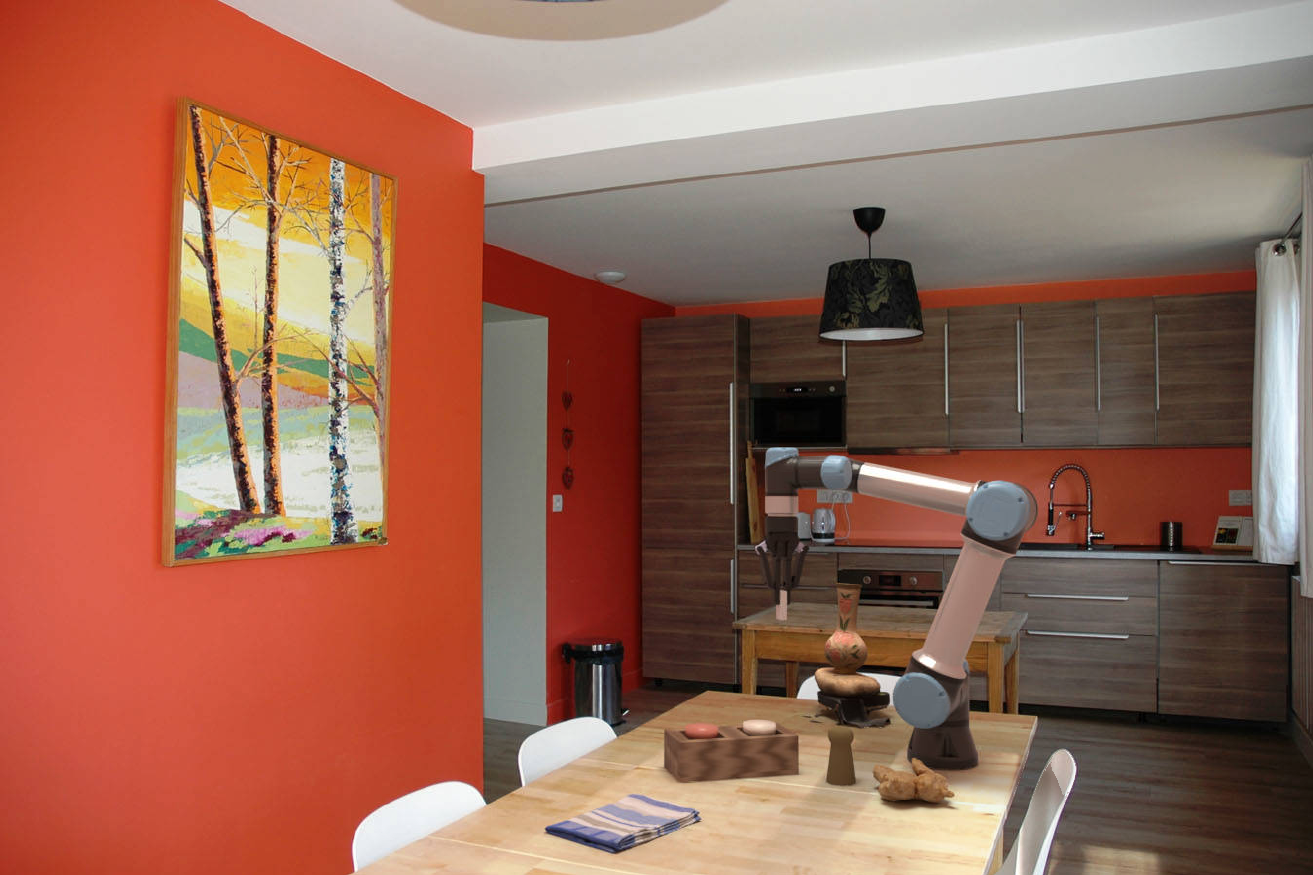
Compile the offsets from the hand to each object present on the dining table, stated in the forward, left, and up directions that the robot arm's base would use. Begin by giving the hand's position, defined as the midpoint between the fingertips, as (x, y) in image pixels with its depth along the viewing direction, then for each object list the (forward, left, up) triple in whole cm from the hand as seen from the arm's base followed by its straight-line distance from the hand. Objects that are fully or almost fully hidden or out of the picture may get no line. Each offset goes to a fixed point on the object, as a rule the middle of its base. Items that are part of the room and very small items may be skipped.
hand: (781, 619), depth 232 cm
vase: (+16, -44, -31) cm, 56 cm away
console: (-2, +18, -30) cm, 35 cm away
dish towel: (-16, +58, -31) cm, 68 cm away
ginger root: (-39, +5, -31) cm, 50 cm away
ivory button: (-5, +12, -28) cm, 31 cm away
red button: (+1, +24, -28) cm, 37 cm away
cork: (-22, +6, -31) cm, 38 cm away
